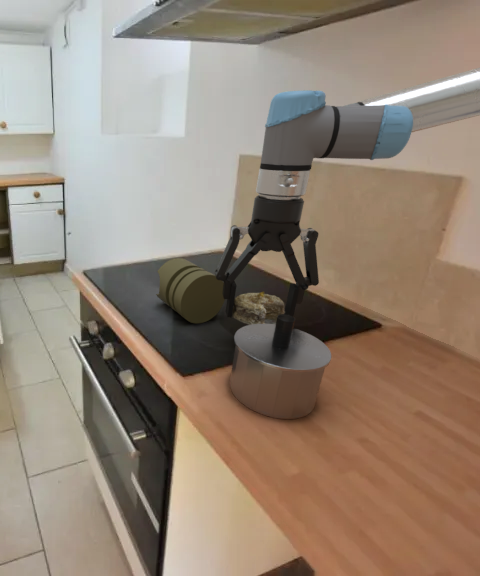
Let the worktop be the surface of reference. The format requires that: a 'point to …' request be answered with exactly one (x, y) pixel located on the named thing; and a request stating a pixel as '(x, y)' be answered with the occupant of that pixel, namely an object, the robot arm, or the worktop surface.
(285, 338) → the pot lid
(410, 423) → the worktop surface
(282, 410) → the pot
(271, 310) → the cake
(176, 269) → the piston
